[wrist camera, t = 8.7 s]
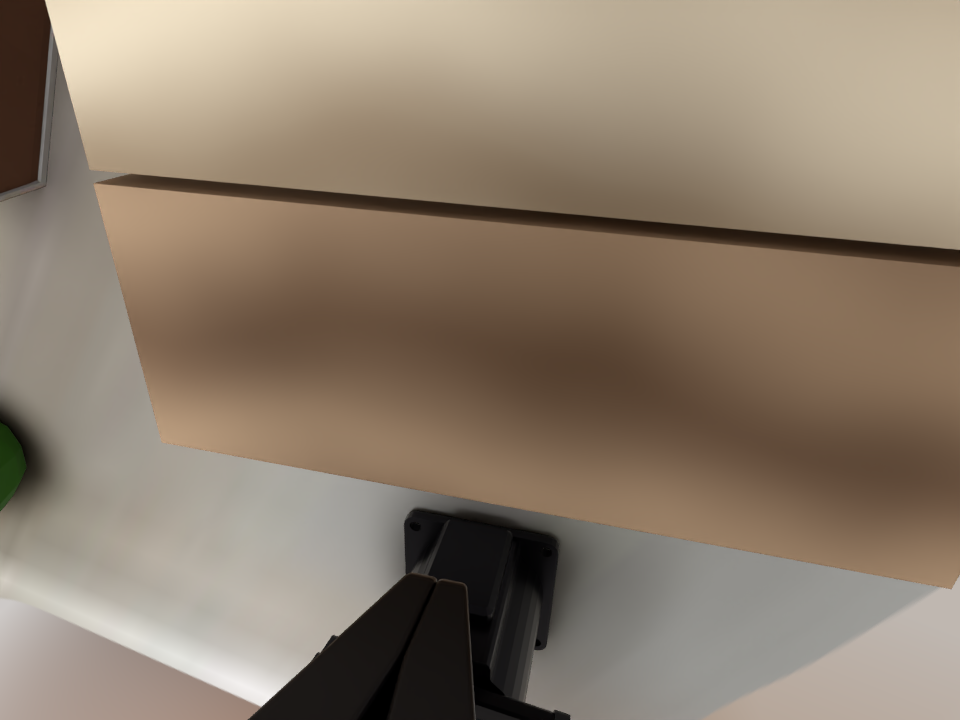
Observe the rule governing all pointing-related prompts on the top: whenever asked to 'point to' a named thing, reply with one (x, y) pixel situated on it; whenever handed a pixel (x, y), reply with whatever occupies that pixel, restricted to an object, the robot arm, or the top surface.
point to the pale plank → (542, 105)
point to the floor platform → (561, 363)
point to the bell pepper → (9, 465)
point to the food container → (25, 95)
